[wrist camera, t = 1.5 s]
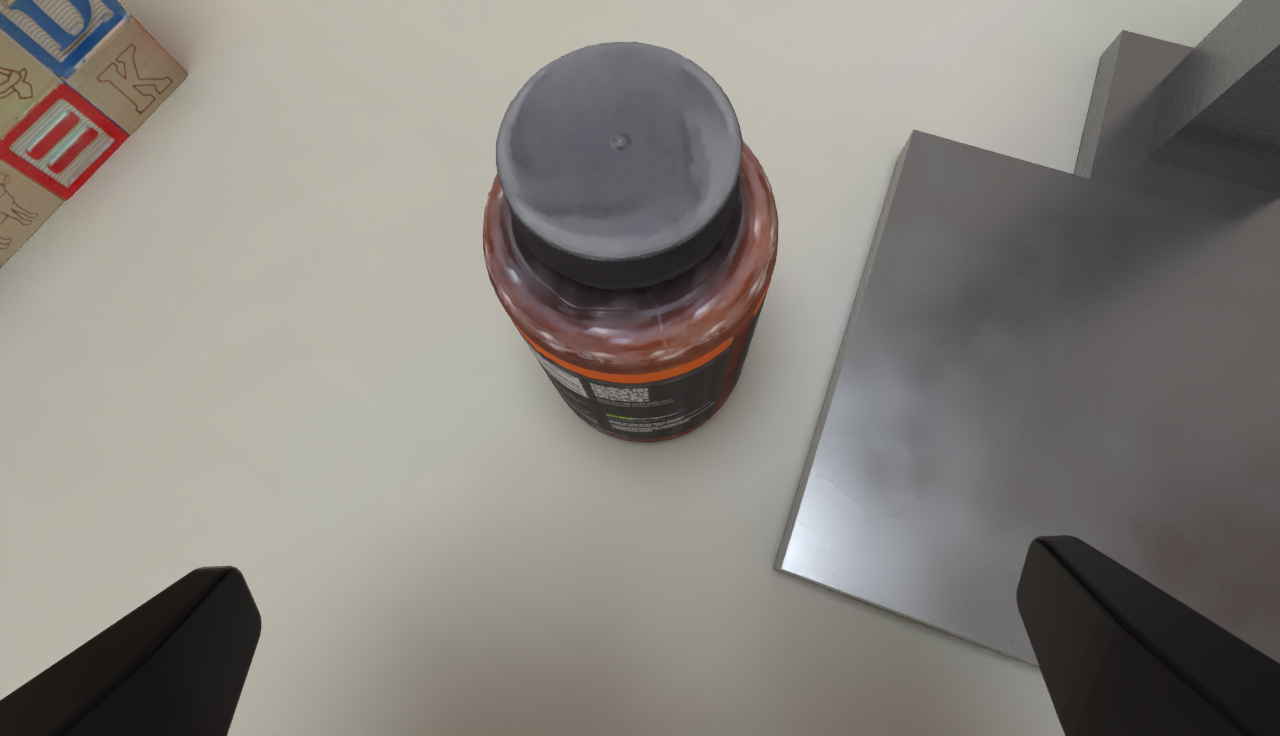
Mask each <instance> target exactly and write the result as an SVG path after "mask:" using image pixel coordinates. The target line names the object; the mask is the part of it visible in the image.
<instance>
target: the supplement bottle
mask: <svg viewBox="0 0 1280 736" xmlns="http://www.w3.org/2000/svg"><path fill="white" fill-rule="evenodd" d="M496 165H497V171H498V173H497V175H496V177H495V179H494V182H493V186H492V189H491V190H490V192H489V194H488V200H487V203H486V207H485V212H484V226H483V249H484V257H485V261H486V267H487V270H488V274H489V278H490V281H491V283H492V285H493V287H494V290H495V292H496V294H497V296H498V298H499V300H500V302H501V304H502V305H503V307H504V309H505V311H506V312H507V313H508V315H509V316H510V318H511V319H512V321H513V323H514V325H515V326H516V328H517V329H518V331H519V332H520V334H521V335H522V337H523V338H524V340H525V341H526V343H527V344H528V346H529V347H530V349H531V351H532V352H533V354H534V355H535V357H536V358H537V360H538V361H539V363H540V364H541V366H542V367H543V369H544V370H545V372H546V373H547V375H548V377H549V378H550V380H551V381H552V383H553V384H554V386H555V387H556V389H557V390H558V392H559V393H560V395H561V396H562V398H563V399H564V401H565V402H566V403H567V404H568V405H569V407H570V408H571V409H572V410H573V411H574V412H575V413H576V414H577V415H578V416H579V417H580V418H582V419H583V420H584V421H586V422H587V423H588V424H590V425H591V426H593V427H594V428H596V429H598V430H599V431H600V432H602V433H605V434H608V435H611V436H614V437H617V438H620V439H625V440H629V441H639V442H641V441H644V442H651V441H658V440H666V439H670V438H673V437H677V436H680V435H683V434H686V433H687V432H689V431H691V430H693V429H695V428H696V427H698V426H699V425H701V424H702V423H704V422H705V421H706V420H708V419H709V418H710V417H711V416H712V415H713V414H714V413H715V412H716V411H717V410H718V409H719V408H720V407H721V406H722V405H723V403H724V402H725V401H726V399H727V398H728V396H729V395H730V393H731V392H732V390H733V388H734V386H735V384H736V383H737V381H738V378H739V376H740V374H741V370H742V367H743V364H744V360H745V358H746V355H747V352H748V348H749V345H750V342H751V339H752V337H753V334H754V330H755V327H756V324H757V321H758V318H759V315H760V312H761V309H762V307H763V303H764V300H765V297H766V293H767V290H768V287H769V284H770V281H771V276H772V273H773V270H774V266H775V262H776V256H777V245H778V216H777V210H776V205H775V200H774V196H773V193H772V188H771V185H770V183H769V181H768V178H767V176H766V174H765V172H764V170H763V167H762V166H761V165H760V163H759V161H758V159H757V158H756V157H755V155H754V154H753V153H752V151H751V150H750V148H749V147H748V146H747V145H746V143H745V142H744V141H743V140H742V135H741V131H740V126H739V123H738V119H737V116H736V114H735V111H734V109H733V106H732V104H731V103H730V101H729V98H728V97H727V96H726V94H725V93H724V92H723V90H722V88H721V87H720V86H719V85H718V84H717V83H716V81H715V80H714V79H713V78H712V77H711V76H710V75H709V74H708V73H707V72H705V71H704V70H703V69H702V68H701V67H699V66H698V65H697V64H695V63H694V62H693V61H691V60H689V59H687V58H685V57H683V56H681V55H680V54H678V53H676V52H674V51H672V50H669V49H666V48H662V47H658V46H654V45H649V44H643V43H638V42H613V43H602V44H598V45H592V46H587V47H584V48H581V49H578V50H575V51H573V52H571V53H568V54H566V55H564V56H561V57H560V58H559V59H556V60H554V61H552V62H551V63H549V64H548V65H546V66H545V67H543V68H542V69H540V70H539V71H538V72H537V73H536V74H535V75H534V76H532V77H531V78H530V79H529V80H528V81H527V82H526V83H525V85H524V86H523V87H522V88H521V90H520V91H519V92H518V94H517V95H516V97H515V98H514V99H513V100H512V101H511V103H510V104H509V107H508V109H507V111H506V112H505V115H504V118H503V120H502V122H501V125H500V129H499V133H498V137H497V141H496Z"/></svg>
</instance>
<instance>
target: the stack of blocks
mask: <svg viewBox="0 0 1280 736" xmlns="http://www.w3.org/2000/svg"><path fill="white" fill-rule="evenodd" d="M186 77H187V73H186V72H185V71H184V70H183V68H182V67H181V66H180V65H179V64H178V63H177V62H176V61H175V60H174V59H173V58H172V57H171V56H170V55H169V54H168V53H167V52H166V51H165V50H164V49H163V48H162V47H161V46H160V45H159V44H158V43H157V41H156V40H155V39H154V38H153V37H152V36H151V35H150V34H149V33H148V32H147V31H146V30H145V29H144V28H143V27H142V26H141V24H140V23H139V22H138V21H137V20H136V19H134V18H133V17H132V16H131V15H130V14H129V13H128V12H126V11H125V9H124V8H123V7H122V6H121V5H120V4H119V2H118V1H117V0H0V267H1V266H2V265H3V264H5V263H6V262H7V261H8V260H9V259H10V258H11V257H12V256H13V255H14V254H15V253H16V251H17V250H18V249H19V248H20V247H21V246H22V245H23V244H24V243H25V242H26V241H27V240H28V239H29V238H30V237H31V236H32V235H33V234H34V233H35V232H36V230H37V229H38V228H39V227H40V226H41V225H42V224H43V223H44V222H45V221H46V220H47V219H48V218H49V217H50V216H51V215H52V214H53V213H54V212H55V211H56V210H57V208H58V207H59V206H60V205H61V204H62V203H63V202H64V201H65V200H68V199H69V198H70V197H71V196H72V195H73V194H74V193H75V192H76V191H77V190H78V189H79V188H80V187H81V186H82V185H83V184H84V183H85V182H86V181H87V180H88V179H89V178H90V177H91V176H92V175H93V174H94V173H95V171H96V170H97V169H98V168H99V167H100V166H101V165H102V164H103V163H104V162H105V161H106V160H107V159H108V158H109V157H110V156H111V155H112V154H113V153H114V152H115V151H116V150H117V149H118V148H119V147H120V145H121V144H122V143H123V142H124V141H125V140H126V139H127V138H128V137H129V136H130V135H131V134H132V133H133V132H134V131H136V130H137V129H138V128H139V127H140V126H141V125H142V123H143V122H144V121H145V120H146V119H147V118H148V117H149V116H150V115H151V114H152V113H153V112H154V111H155V110H156V109H157V108H158V107H159V106H160V105H161V104H162V103H163V102H164V101H165V100H166V99H167V98H168V97H169V95H170V94H171V93H172V92H173V91H174V90H175V89H176V88H177V87H178V86H179V85H180V84H181V83H182V82H183V81H184V80H185V79H186Z"/></svg>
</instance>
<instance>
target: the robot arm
mask: <svg viewBox="0 0 1280 736" xmlns="http://www.w3.org/2000/svg"><path fill="white" fill-rule="evenodd" d="M1016 601H1017V606H1018V610H1019V613H1020V616H1021V619H1022V621H1023V624H1024V627H1025V629H1026V632H1027V635H1028V637H1029V640H1030V643H1031V646H1032V648H1033V651H1034V654H1035V656H1036V659H1037V662H1038V664H1039V667H1040V670H1041V673H1042V675H1043V678H1044V681H1045V683H1046V686H1047V689H1048V691H1049V694H1050V697H1051V699H1052V702H1053V705H1054V708H1055V710H1056V713H1057V716H1058V718H1059V721H1060V724H1061V726H1062V728H1063V731H1064V733H1065V736H1280V663H1279V662H1278V661H1276V660H1274V659H1273V658H1271V657H1269V656H1268V655H1266V654H1265V653H1263V652H1261V651H1260V650H1258V649H1257V648H1255V647H1253V646H1252V645H1250V644H1248V643H1247V642H1245V641H1244V640H1242V639H1240V638H1239V637H1237V636H1236V635H1234V634H1232V633H1231V632H1229V631H1228V630H1226V629H1224V628H1223V627H1221V626H1219V625H1218V624H1216V623H1215V622H1213V621H1211V620H1210V619H1208V618H1207V617H1205V616H1203V615H1202V614H1200V613H1198V612H1197V611H1195V610H1194V609H1192V608H1190V607H1189V606H1187V605H1186V604H1184V603H1182V602H1181V601H1179V600H1177V599H1176V598H1174V597H1173V596H1171V595H1169V594H1168V593H1166V592H1165V591H1163V590H1161V589H1160V588H1158V587H1156V586H1155V585H1153V584H1152V583H1150V582H1148V581H1147V580H1145V579H1144V578H1142V577H1140V576H1139V575H1137V574H1136V573H1134V572H1132V571H1131V570H1129V569H1127V568H1126V567H1124V566H1123V565H1121V564H1119V563H1118V562H1116V561H1115V560H1113V559H1111V558H1110V557H1108V556H1106V555H1105V554H1103V553H1102V552H1100V551H1098V550H1097V549H1095V548H1094V547H1092V546H1090V545H1089V544H1087V543H1085V542H1084V541H1082V540H1080V539H1079V538H1077V537H1074V536H1069V535H1058V536H1039V537H1036V538H1034V539H1033V540H1032V541H1031V542H1030V544H1029V547H1028V550H1027V553H1026V557H1025V560H1024V564H1023V567H1022V571H1021V574H1020V577H1019V581H1018V584H1017V589H1016ZM260 633H261V616H260V613H259V610H258V608H257V606H256V604H255V601H254V599H253V597H252V595H251V592H250V590H249V588H248V586H247V583H246V581H245V579H244V577H243V575H242V573H241V571H239V570H238V569H237V568H236V567H232V566H215V567H202V568H198V569H195V570H193V571H192V572H190V573H189V574H187V575H186V576H184V577H183V578H181V579H180V580H178V581H177V582H175V583H174V584H172V585H171V586H169V587H168V588H166V589H165V590H163V591H162V592H160V593H159V594H157V595H156V596H154V597H153V598H151V599H150V600H149V601H147V602H146V603H144V604H143V605H141V606H140V607H138V608H137V609H135V610H134V611H132V612H131V613H129V614H128V615H126V616H125V617H123V618H122V619H120V620H119V621H117V622H116V623H114V624H113V625H111V626H110V627H109V628H107V629H106V630H104V631H103V632H101V633H100V634H98V635H97V636H95V637H94V638H92V639H91V640H89V641H88V642H86V643H85V644H83V645H82V646H80V647H79V648H77V649H76V650H74V651H73V652H71V653H70V654H69V655H67V656H66V657H64V658H63V659H61V660H60V661H58V662H57V663H55V664H54V665H52V666H51V667H49V668H48V669H46V670H45V671H43V672H42V673H40V674H39V675H37V676H36V677H34V678H33V679H31V680H30V681H28V682H27V683H26V684H24V685H23V686H21V687H20V688H18V689H17V690H15V691H14V692H12V693H11V694H9V695H8V696H6V697H5V698H3V699H2V700H0V736H227V734H228V731H229V728H230V725H231V722H232V719H233V716H234V713H235V710H236V707H237V704H238V701H239V698H240V695H241V692H242V689H243V686H244V683H245V680H246V677H247V674H248V671H249V668H250V665H251V662H252V659H253V656H254V653H255V650H256V647H257V644H258V641H259V637H260Z"/></svg>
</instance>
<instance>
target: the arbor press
mask: <svg viewBox="0 0 1280 736" xmlns="http://www.w3.org/2000/svg"><path fill="white" fill-rule="evenodd" d="M1058 535H1069V536H1074V537H1077V538H1079V539H1080V540H1082V541H1084V542H1085V543H1087V544H1089V545H1090V546H1092V547H1094V548H1095V549H1097V550H1098V551H1100V552H1102V553H1103V554H1105V555H1106V556H1108V557H1110V558H1111V559H1113V560H1115V561H1116V562H1118V563H1119V564H1121V565H1123V566H1124V567H1126V568H1127V569H1129V570H1131V571H1132V572H1134V573H1136V574H1137V575H1139V576H1140V577H1142V578H1144V579H1145V580H1147V581H1148V582H1150V583H1152V584H1153V585H1155V586H1156V587H1158V588H1160V589H1161V590H1163V591H1165V592H1166V593H1168V594H1169V595H1171V596H1173V597H1174V598H1176V599H1177V600H1179V601H1181V602H1182V603H1184V604H1186V605H1187V606H1189V607H1190V608H1192V609H1194V610H1195V611H1197V612H1198V613H1200V614H1202V615H1203V616H1205V617H1207V618H1208V619H1210V620H1211V621H1213V622H1215V623H1216V624H1218V625H1219V626H1221V627H1223V628H1224V629H1226V630H1228V631H1229V632H1231V633H1232V634H1234V635H1236V636H1237V637H1239V638H1240V639H1242V640H1244V641H1245V642H1247V643H1248V644H1250V645H1252V646H1253V647H1255V648H1257V649H1258V650H1260V651H1261V652H1263V653H1265V654H1266V655H1268V656H1269V657H1271V658H1273V659H1274V660H1276V661H1278V662H1279V663H1280V0H1243V1H1242V2H1241V3H1240V4H1239V5H1238V6H1237V7H1236V8H1235V9H1234V10H1233V11H1232V12H1231V13H1230V14H1229V15H1228V16H1227V17H1226V18H1225V19H1223V20H1222V21H1221V22H1220V23H1219V24H1218V25H1217V26H1216V27H1215V28H1214V29H1213V30H1212V31H1211V32H1210V33H1209V34H1208V35H1207V36H1206V37H1205V38H1204V39H1203V40H1202V41H1201V42H1200V43H1199V44H1198V45H1197V46H1196V47H1195V48H1191V47H1188V46H1184V45H1180V44H1176V43H1172V42H1168V41H1164V40H1160V39H1156V38H1152V37H1148V36H1144V35H1140V34H1136V33H1132V32H1128V31H1124V30H1122V32H1121V33H1120V34H1119V35H1118V36H1117V38H1116V39H1115V40H1114V41H1113V42H1112V44H1111V45H1110V46H1109V47H1108V48H1107V49H1106V51H1105V52H1104V53H1103V54H1102V55H1101V59H1100V63H1099V68H1098V72H1097V76H1096V81H1095V85H1094V89H1093V94H1092V98H1091V102H1090V107H1089V111H1088V115H1087V120H1086V124H1085V129H1084V133H1083V137H1082V142H1081V146H1080V150H1079V155H1078V159H1077V163H1076V168H1075V172H1074V174H1070V173H1066V172H1063V171H1059V170H1056V169H1052V168H1049V167H1045V166H1042V165H1038V164H1034V163H1031V162H1027V161H1024V160H1020V159H1017V158H1013V157H1009V156H1006V155H1002V154H999V153H995V152H992V151H988V150H985V149H981V148H977V147H974V146H970V145H967V144H963V143H960V142H956V141H952V140H949V139H945V138H942V137H938V136H935V135H931V134H928V133H924V132H920V131H917V130H913V132H912V133H911V135H910V137H909V139H908V141H907V142H906V144H905V146H904V148H903V149H902V151H901V153H900V155H899V157H898V160H897V163H896V167H895V170H894V173H893V176H892V180H891V183H890V186H889V190H888V193H887V196H886V200H885V203H884V206H883V209H882V213H881V216H880V219H879V223H878V226H877V229H876V232H875V236H874V239H873V242H872V246H871V249H870V252H869V255H868V259H867V262H866V265H865V269H864V272H863V275H862V278H861V282H860V285H859V288H858V292H857V295H856V298H855V301H854V305H853V308H852V311H851V315H850V318H849V321H848V325H847V328H846V331H845V334H844V338H843V341H842V344H841V348H840V351H839V354H838V357H837V361H836V364H835V367H834V371H833V374H832V377H831V380H830V384H829V387H828V390H827V394H826V397H825V400H824V403H823V407H822V410H821V413H820V417H819V420H818V423H817V427H816V430H815V433H814V436H813V440H812V443H811V446H810V450H809V453H808V456H807V459H806V463H805V466H804V469H803V473H802V476H801V479H800V482H799V486H798V489H797V492H796V496H795V499H794V502H793V505H792V509H791V512H790V515H789V519H788V522H787V525H786V528H785V532H784V535H783V538H782V542H781V545H780V548H779V552H778V555H777V558H776V561H775V565H774V568H773V569H776V570H778V571H781V572H784V573H786V574H789V575H792V576H794V577H797V578H800V579H803V580H805V581H808V582H811V583H813V584H816V585H819V586H821V587H824V588H827V589H830V590H832V591H835V592H838V593H840V594H843V595H846V596H849V597H851V598H854V599H857V600H859V601H862V602H865V603H867V604H870V605H873V606H876V607H878V608H881V609H884V610H886V611H889V612H892V613H894V614H897V615H900V616H903V617H905V618H908V619H911V620H913V621H916V622H919V623H921V624H924V625H927V626H930V627H932V628H935V629H938V630H940V631H943V632H946V633H948V634H951V635H954V636H957V637H959V638H962V639H965V640H967V641H970V642H973V643H976V644H978V645H981V646H984V647H986V648H989V649H992V650H994V651H997V652H1000V653H1003V654H1005V655H1008V656H1011V657H1013V658H1016V659H1019V660H1021V661H1024V662H1027V663H1030V664H1032V665H1035V666H1038V667H1039V664H1038V662H1037V659H1036V656H1035V654H1034V651H1033V648H1032V646H1031V643H1030V640H1029V637H1028V635H1027V632H1026V629H1025V627H1024V624H1023V621H1022V619H1021V616H1020V613H1019V610H1018V606H1017V601H1016V589H1017V584H1018V581H1019V577H1020V574H1021V571H1022V567H1023V564H1024V560H1025V557H1026V553H1027V550H1028V547H1029V544H1030V542H1031V541H1032V540H1033V539H1034V538H1036V537H1039V536H1058Z"/></svg>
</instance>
